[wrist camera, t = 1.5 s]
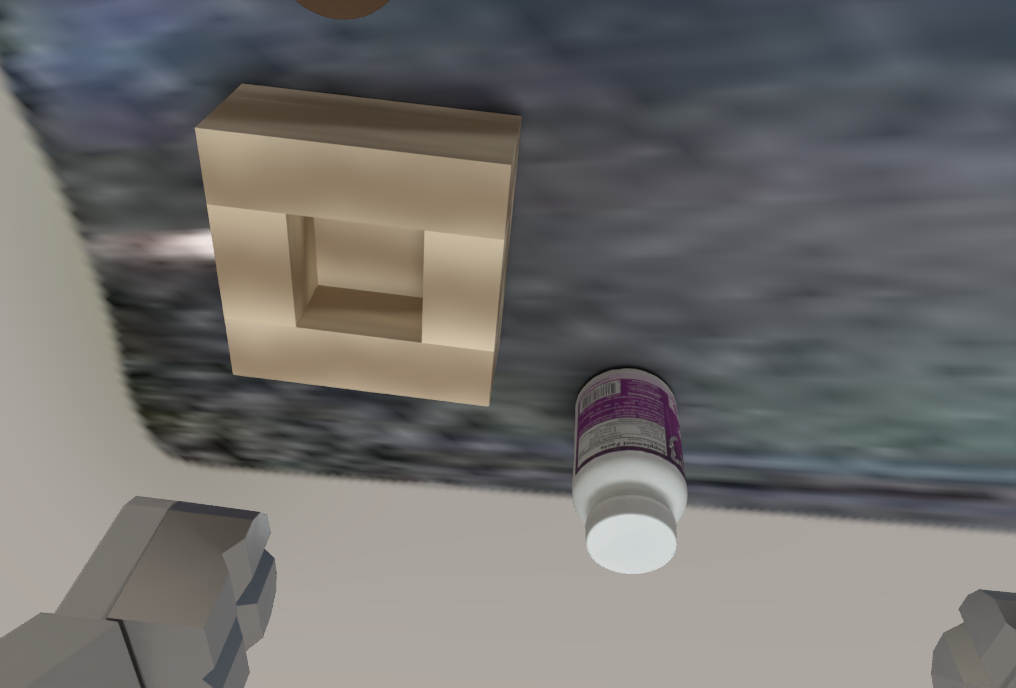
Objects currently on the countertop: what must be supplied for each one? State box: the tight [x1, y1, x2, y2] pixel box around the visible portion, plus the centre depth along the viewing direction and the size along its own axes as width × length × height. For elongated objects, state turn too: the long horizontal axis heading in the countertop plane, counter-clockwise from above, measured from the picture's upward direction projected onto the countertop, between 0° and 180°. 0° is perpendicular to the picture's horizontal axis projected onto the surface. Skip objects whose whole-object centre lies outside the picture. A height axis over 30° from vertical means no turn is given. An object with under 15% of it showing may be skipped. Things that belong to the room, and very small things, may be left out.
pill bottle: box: [572, 368, 687, 574], centre depth 39 cm, size 5×5×10 cm
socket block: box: [195, 84, 522, 407], centre depth 36 cm, size 12×12×5 cm
